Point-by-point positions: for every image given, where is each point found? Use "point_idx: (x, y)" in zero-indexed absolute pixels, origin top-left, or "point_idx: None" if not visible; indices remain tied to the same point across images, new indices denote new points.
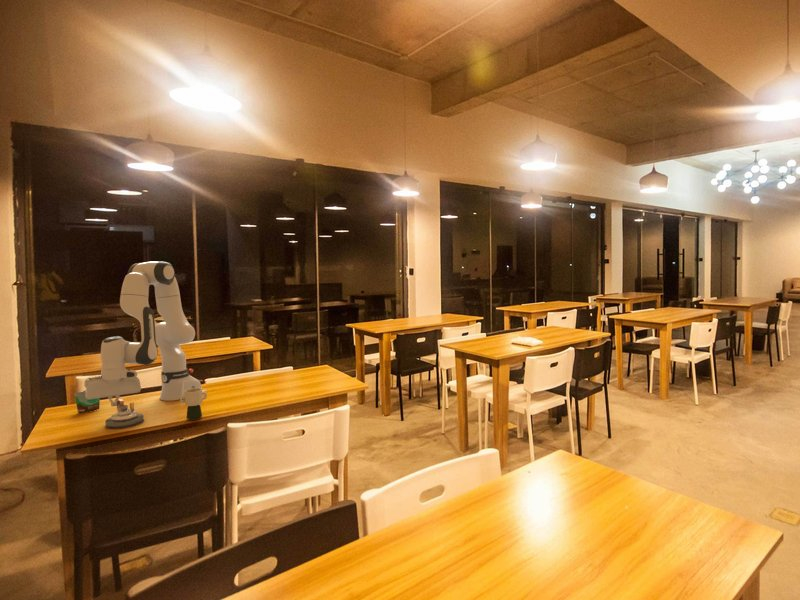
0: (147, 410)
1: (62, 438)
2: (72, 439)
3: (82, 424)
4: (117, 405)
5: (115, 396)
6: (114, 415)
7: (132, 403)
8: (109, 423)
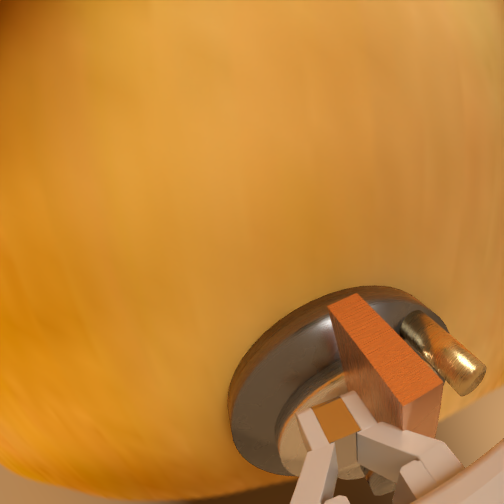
0: (477, 134)
1: (73, 474)
2: (125, 496)
3: (42, 306)
4: (359, 364)
5: (402, 484)
6: (302, 443)
7: (469, 390)
8: (265, 467)
